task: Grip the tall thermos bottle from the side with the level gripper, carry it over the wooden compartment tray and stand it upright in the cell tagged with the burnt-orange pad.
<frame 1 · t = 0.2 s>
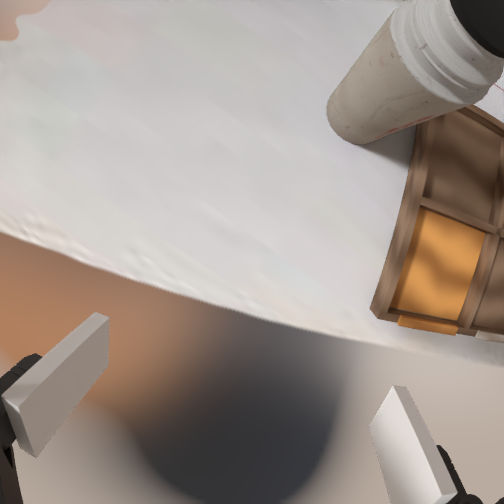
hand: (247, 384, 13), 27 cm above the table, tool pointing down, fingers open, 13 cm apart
wooden compartment tray: (485, 228, 37), on the table
thermos bottle: (356, 114, 36), on the table
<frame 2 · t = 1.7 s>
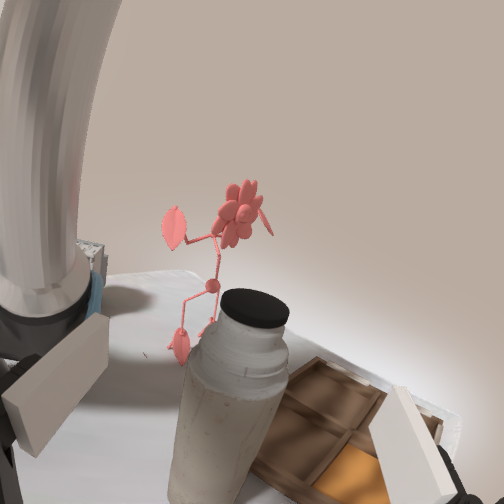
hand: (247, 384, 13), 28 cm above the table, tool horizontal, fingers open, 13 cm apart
wooden compartment tray: (342, 443, 43), on the table
circuit breaker: (83, 305, 64), on the table
figurine: (207, 359, 60), on the table
thermos bottle: (199, 497, 29), on the table
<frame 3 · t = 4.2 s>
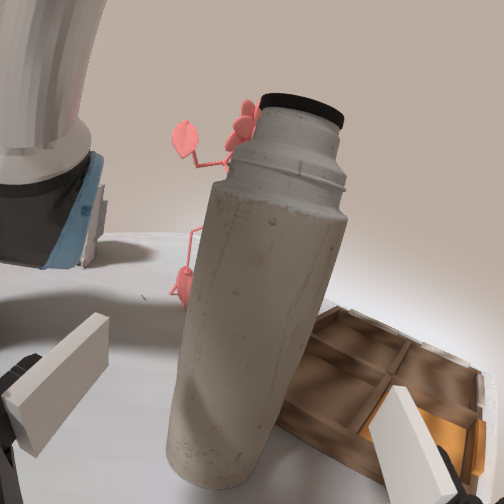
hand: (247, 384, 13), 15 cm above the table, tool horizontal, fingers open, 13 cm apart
wooden compartment tray: (379, 394, 38), on the table
circuit breaker: (78, 255, 59), on the table
figurine: (215, 306, 54), on the table
thermos bottle: (210, 456, 24), on the table
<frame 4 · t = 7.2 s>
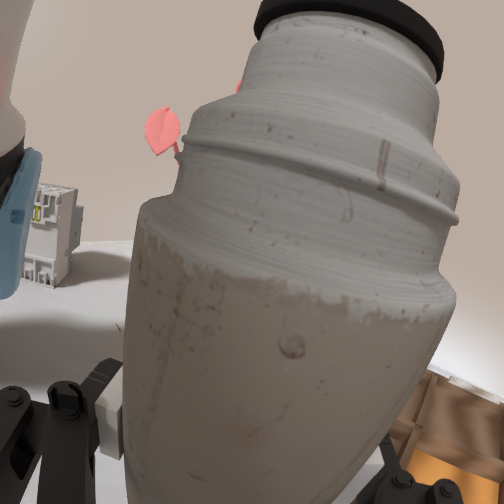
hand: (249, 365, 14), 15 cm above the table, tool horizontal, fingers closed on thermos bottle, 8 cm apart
wooden compartment tray: (403, 448, 27), on the table
circuit breaker: (50, 270, 49), on the table
figurine: (205, 336, 44), on the table
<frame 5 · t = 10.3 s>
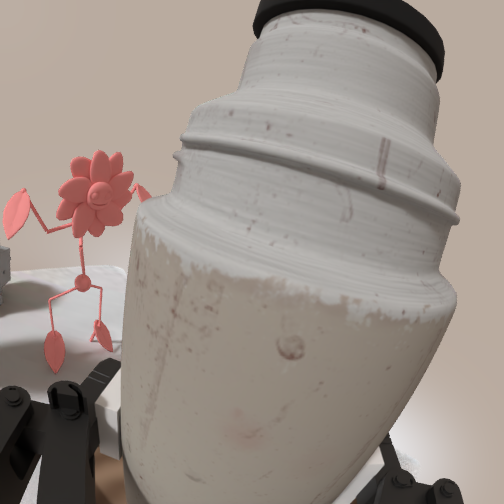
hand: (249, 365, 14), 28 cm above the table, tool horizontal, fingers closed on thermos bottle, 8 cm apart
wooden compartment tray: (222, 498, 30), on the table
figurine: (88, 368, 45), on the table
when the fingers open (17 cm above the table, at t = 13.5 s): thermos bottle stays where it is, resting on wooden compartment tray.
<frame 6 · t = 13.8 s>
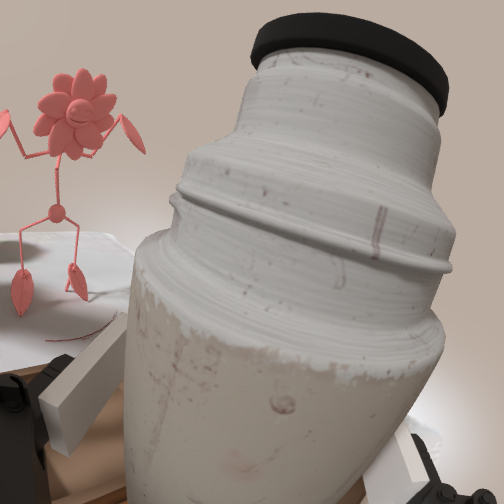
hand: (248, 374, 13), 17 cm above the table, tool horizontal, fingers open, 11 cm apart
wooden compartment tray: (191, 464, 24), on the table
figurine: (57, 315, 40), on the table
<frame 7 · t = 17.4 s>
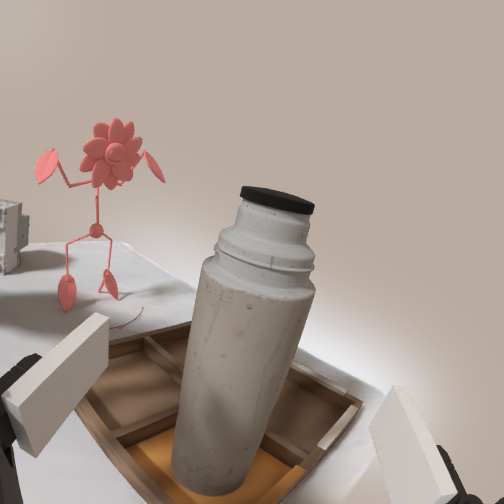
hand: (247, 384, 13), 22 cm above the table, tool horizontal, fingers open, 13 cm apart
wooden compartment tray: (207, 410, 38), on the table
circuit breaker: (6, 263, 59), on the table
figurine: (96, 310, 54), on the table
thermos bottle: (208, 468, 27), point 1 cm above the table, touching wooden compartment tray
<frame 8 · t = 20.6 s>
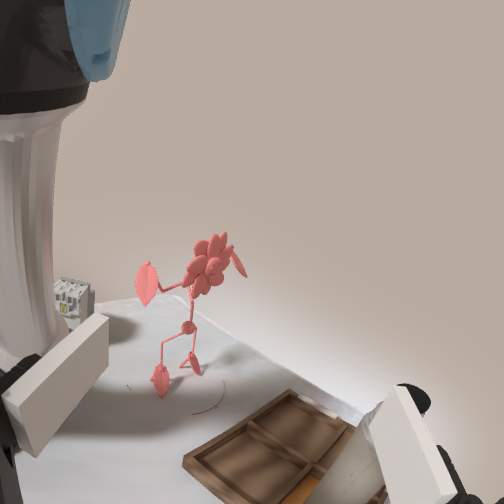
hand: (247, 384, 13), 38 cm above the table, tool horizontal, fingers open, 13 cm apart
wooden compartment tray: (305, 473, 46), on the table
circuit breaker: (74, 337, 67), on the table
figurine: (186, 390, 62), on the table
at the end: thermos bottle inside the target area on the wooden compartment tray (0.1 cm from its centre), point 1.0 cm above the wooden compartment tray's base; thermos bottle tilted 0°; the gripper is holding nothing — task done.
